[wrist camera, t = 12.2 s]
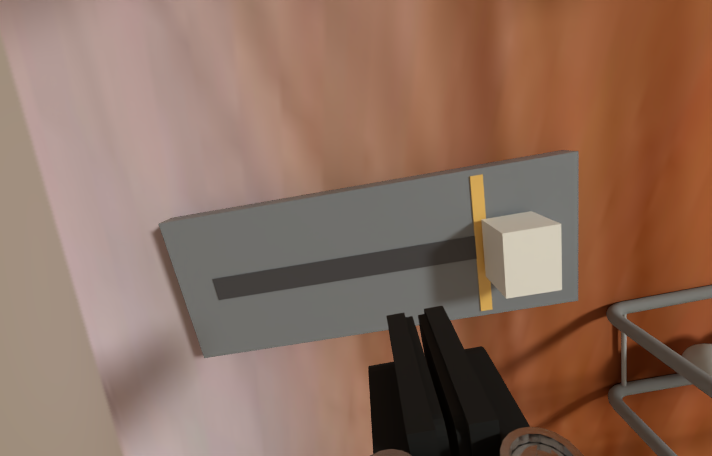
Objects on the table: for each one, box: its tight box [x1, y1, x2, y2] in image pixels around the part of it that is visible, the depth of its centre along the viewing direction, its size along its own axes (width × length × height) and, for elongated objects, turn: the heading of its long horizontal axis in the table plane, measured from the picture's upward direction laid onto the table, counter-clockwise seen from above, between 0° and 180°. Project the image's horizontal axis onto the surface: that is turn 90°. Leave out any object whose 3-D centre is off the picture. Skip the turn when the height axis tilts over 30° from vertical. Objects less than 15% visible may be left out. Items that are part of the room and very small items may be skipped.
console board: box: [159, 150, 578, 358], centre depth 29 cm, size 13×34×2 cm, turn 100°
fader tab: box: [481, 211, 562, 299], centre depth 26 cm, size 5×4×4 cm
